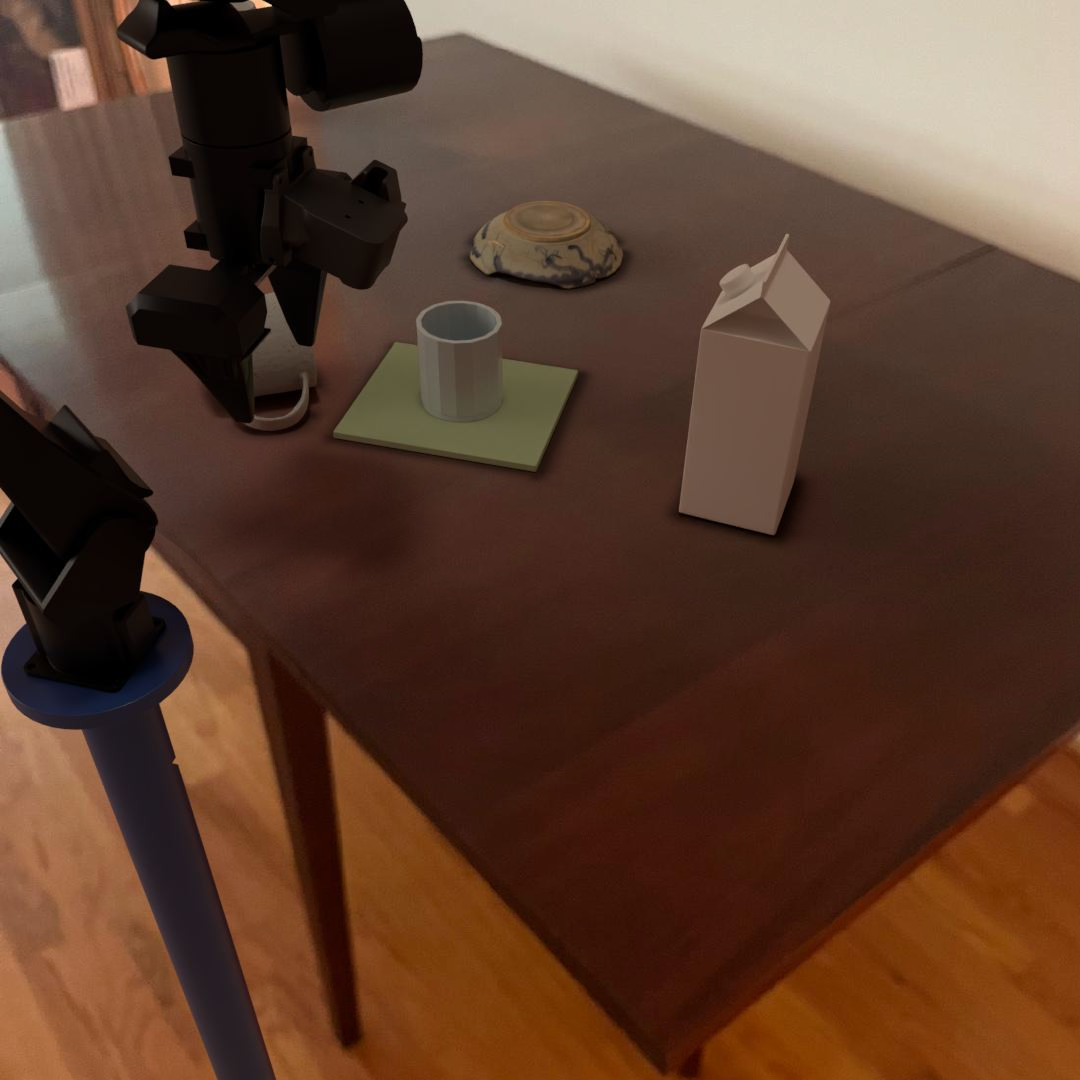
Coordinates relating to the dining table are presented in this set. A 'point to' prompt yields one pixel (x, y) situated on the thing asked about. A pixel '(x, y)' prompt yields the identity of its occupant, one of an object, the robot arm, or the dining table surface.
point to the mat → (499, 439)
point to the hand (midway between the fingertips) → (276, 381)
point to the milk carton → (753, 393)
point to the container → (460, 360)
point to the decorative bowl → (547, 245)
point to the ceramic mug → (281, 368)
